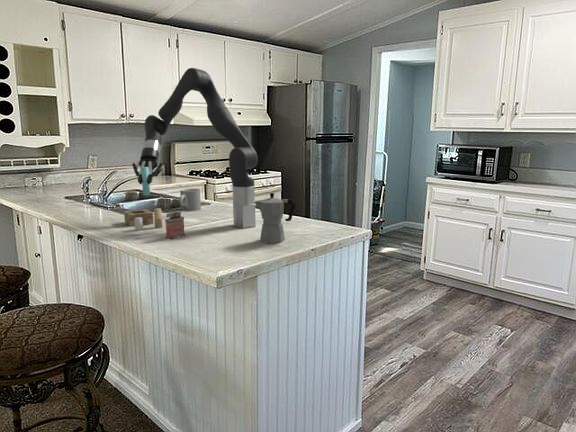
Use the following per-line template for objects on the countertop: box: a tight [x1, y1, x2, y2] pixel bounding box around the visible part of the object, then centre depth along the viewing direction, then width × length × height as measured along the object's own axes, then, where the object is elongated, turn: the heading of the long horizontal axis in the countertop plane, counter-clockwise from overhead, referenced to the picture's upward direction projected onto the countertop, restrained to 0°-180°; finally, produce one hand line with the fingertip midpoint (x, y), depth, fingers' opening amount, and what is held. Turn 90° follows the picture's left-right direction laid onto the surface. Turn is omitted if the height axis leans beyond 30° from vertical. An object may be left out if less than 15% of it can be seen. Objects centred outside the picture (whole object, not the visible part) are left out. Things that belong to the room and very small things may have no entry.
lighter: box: [164, 211, 186, 240], centre depth 165 cm, size 8×3×10 cm, turn 141°
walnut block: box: [123, 208, 155, 228], centre depth 190 cm, size 10×10×5 cm
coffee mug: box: [178, 188, 202, 212], centre depth 220 cm, size 13×10×10 cm
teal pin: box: [140, 167, 151, 196], centre depth 187 cm, size 3×3×12 cm
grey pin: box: [134, 217, 144, 232], centre depth 178 cm, size 3×3×5 cm
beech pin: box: [153, 207, 163, 229], centre depth 182 cm, size 3×3×8 cm
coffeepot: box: [254, 192, 297, 244], centre depth 159 cm, size 15×9×18 cm, turn 90°
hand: (144, 183), depth 185 cm, fingers closed on teal pin, 3 cm apart
